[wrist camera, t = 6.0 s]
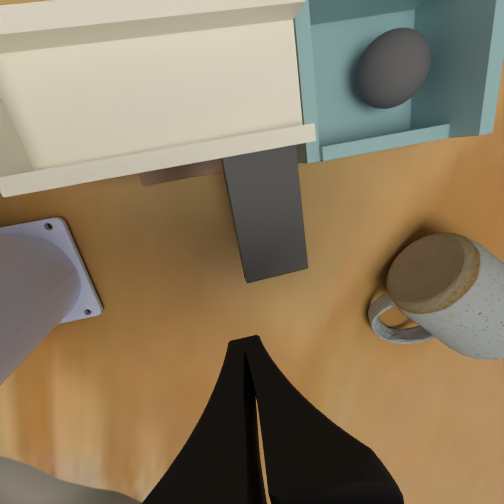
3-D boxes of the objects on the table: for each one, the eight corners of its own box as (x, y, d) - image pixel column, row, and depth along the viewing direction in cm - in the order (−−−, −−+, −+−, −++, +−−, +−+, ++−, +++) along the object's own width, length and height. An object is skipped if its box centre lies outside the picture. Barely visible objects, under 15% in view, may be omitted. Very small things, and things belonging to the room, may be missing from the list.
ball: (445, 95, 15) (398, 108, 19) (453, 7, 13) (400, 40, 17) (379, 107, 15) (345, 117, 18) (380, 18, 13) (342, 49, 17)
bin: (292, 162, 19) (323, 164, 14) (276, 17, 16) (308, -56, 11) (414, 139, 20) (492, 132, 14) (421, -4, 17) (523, -84, 11)
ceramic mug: (420, 216, 22) (515, 246, 15) (477, 261, 25) (583, 306, 17) (341, 310, 25) (391, 375, 18) (400, 343, 27) (465, 412, 20)
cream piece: (92, 313, 16) (65, 352, 13) (-30, 44, 11) (-123, -4, 8) (309, 260, 18) (334, 283, 15) (284, 9, 13) (314, -41, 10)
